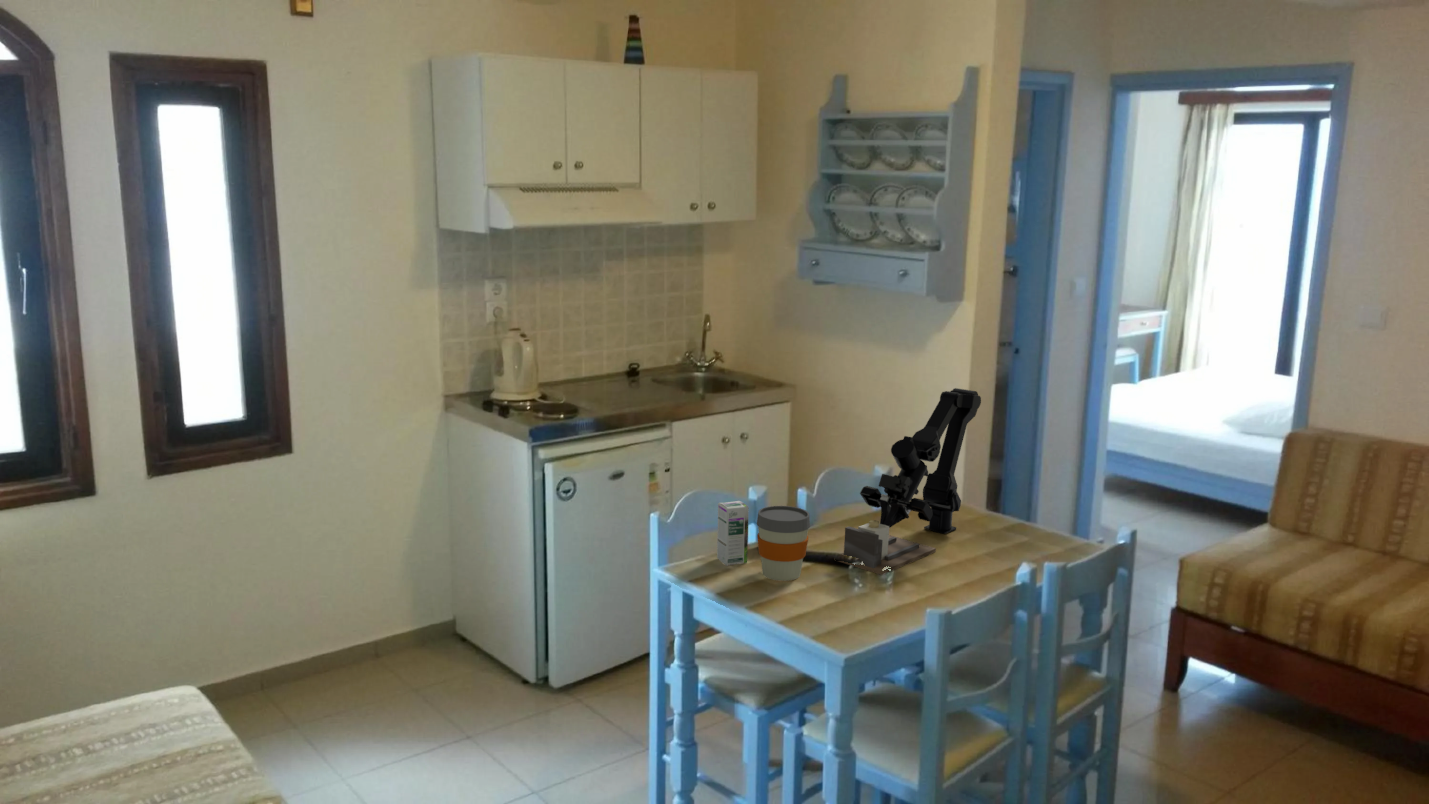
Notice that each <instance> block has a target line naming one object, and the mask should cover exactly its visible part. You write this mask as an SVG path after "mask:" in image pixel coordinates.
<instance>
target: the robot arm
mask: <svg viewBox="0 0 1429 804" xmlns="http://www.w3.org/2000/svg"><path fill="white" fill-rule="evenodd" d="M981 404H982V397H981V396H980V395H979V393H978V391H977V390H976V391H975V390H972V389H971V390H970V389H963V388H957V387H955V388H953V389H952V390H950V391H948V390H944V391H942V392H941V394H940V397H939V401H938V403H937V405H936V406H935V408H934V410H933V412H932V413H931V415H930V416H929V418H928V421H927V422H926V424H925V425H924V427H923V428H921V429H920V430H917V431H915V432H914V434H913V435H912V436H907V435H904V436H903V438H902V439H899V440H897V441H895V442H894V444H892V445H891V448H890V453H891V455H892V457H893V458H894V460H895V463H896V464H897V467H898V468H899V469H900V471H899V473H898V475H896V474H895V475H890V474H885V473H882V474H881V475H880V480H879V483H878V487H879V488H880V487H882V488H883V491H884V494H883V493H881V492H880V489H878V488H876V487H873V486H868V485H865V486H863V487H862V489H861V490H860V492H859V494H860V496H861V498H863V499H862V500H864V502H865V504H866V505H868V506H869V507H873V508H877V509H879V508H880V521H879V524H883V525H887V526H889V529H891V528H893V526H895V525H896V524H898V523H900V522H902V521H903V520H905V519H907V520H908V519H909V518H910V516H909V515H910V513H911V512H916V513H917V516H918V519H919V520H921V521H922V520H923V521H925V522H926V521H927V522H929V524H928V525H925V526H924V528H923V529H924V530H928V531H931V532H936V533H938V534H942V535H946V534H948V533H951V532H954V531H956V530H957V527H956V526H953V525H952V523H953V513H954V512H959V511H960V508H961V503H962V500H961V499H962V498H961V497H960V495H959V493H958V484H957V479H956V476H955V473H956V468H957V464H958V462H959V456H960V453H961V450H962V446H963V445H962V444H963V442H964V438H965V434H966V429H967V426H968V424H969V423H971V421H972V419H974V418H975V417H976V415H977V412H978V409H979V408H980V406H981ZM945 431H946V432H945ZM944 433H945V434H944ZM943 434H944V435H945V436H944V439H943V443H942V447H941V438H942V436H943ZM938 457H939V460H938V462H937V467H936V469H935V470H934V471H933V472H932V473H931V472H929V470H928V465H927V464H926V463H925V462H930V463H931V462H935V461H936V459H937V458H938ZM924 476H925V477H926V481H925V484H924V486H923V488H922V499H921V498H916V497H914V495H918V494H919V492H920V491H919V490H918V488H919V486H920V484H921V482H922V480H923V478H924Z"/></svg>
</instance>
